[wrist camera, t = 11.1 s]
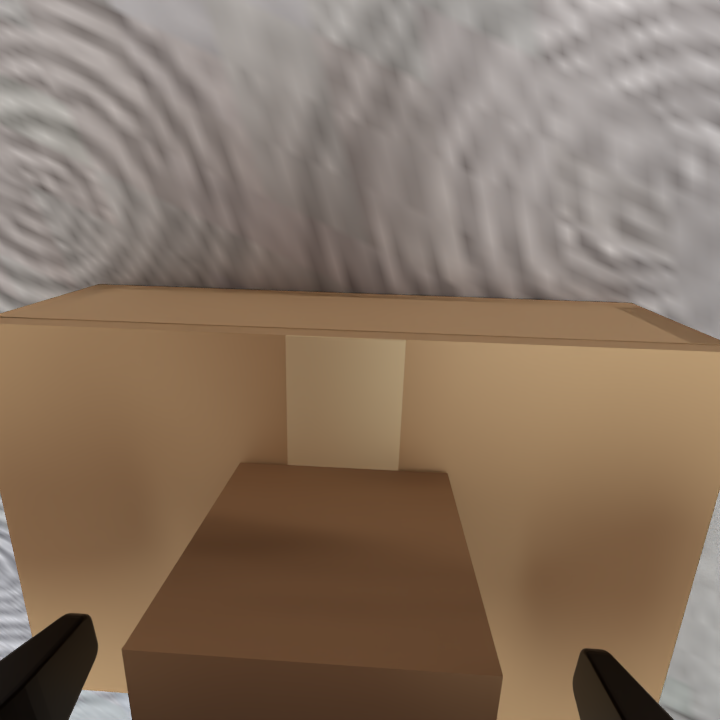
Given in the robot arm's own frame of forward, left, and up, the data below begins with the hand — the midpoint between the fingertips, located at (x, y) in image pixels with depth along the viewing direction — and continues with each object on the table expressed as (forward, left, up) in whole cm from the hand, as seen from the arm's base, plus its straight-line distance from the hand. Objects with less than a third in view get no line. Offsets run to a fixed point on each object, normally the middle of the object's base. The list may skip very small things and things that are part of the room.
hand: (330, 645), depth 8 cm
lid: (0, 0, -3) cm, 3 cm away
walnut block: (0, 0, -2) cm, 2 cm away
